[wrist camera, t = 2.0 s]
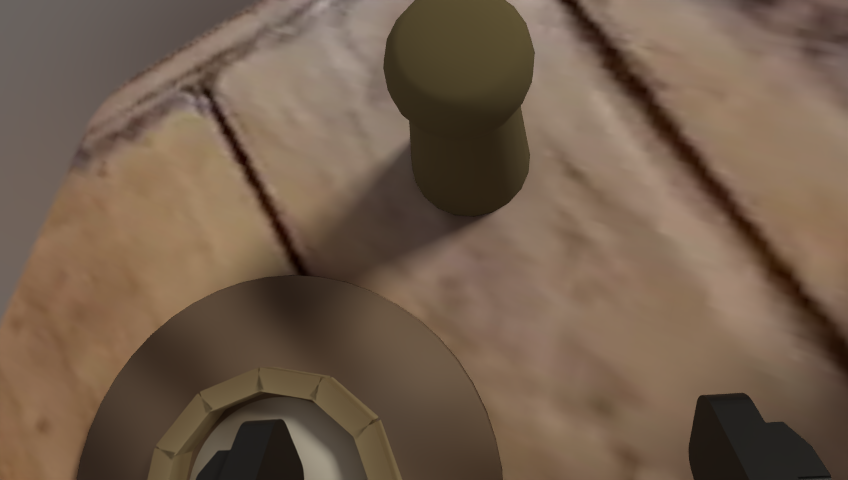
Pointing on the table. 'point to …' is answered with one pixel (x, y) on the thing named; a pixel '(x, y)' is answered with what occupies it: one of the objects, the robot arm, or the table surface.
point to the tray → (309, 344)
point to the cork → (463, 99)
